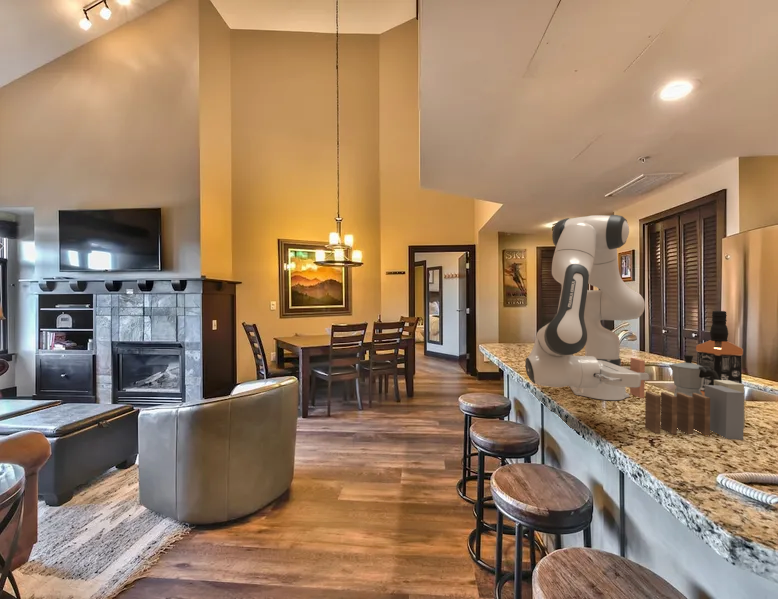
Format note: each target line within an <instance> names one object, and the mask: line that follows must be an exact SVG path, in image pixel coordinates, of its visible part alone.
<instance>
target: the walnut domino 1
mask: <svg viewBox="0 0 778 599" xmlns="http://www.w3.org/2000/svg"><path fill="white" fill-rule="evenodd" d="M644 399H645V408H644V409H645V411H644V412H645V414H644V415H645V417H644V419H645V420H644V425H645V426H644V428H646V429H648V430H649V431H650V432H652V433H654V434H661V395H659V394H656V393H654V392H652V391H645V398H644Z"/></svg>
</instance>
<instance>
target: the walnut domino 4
mask: <svg viewBox="0 0 778 599" xmlns="http://www.w3.org/2000/svg"><path fill="white" fill-rule="evenodd" d="M692 397H694V410H693V429H695V430H697V431H699V432H701V433H702V434H704V435H709V436H708V437H710V436H711V431H710V398H709V397H706V396H703V395H701V394H698V393H692ZM702 434H701V435H702ZM704 435H703V436H704Z"/></svg>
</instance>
